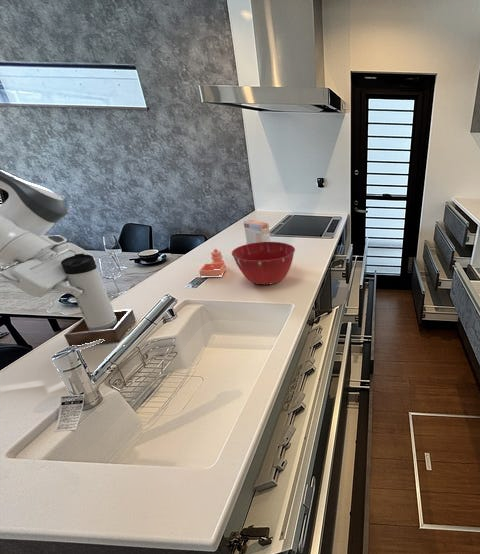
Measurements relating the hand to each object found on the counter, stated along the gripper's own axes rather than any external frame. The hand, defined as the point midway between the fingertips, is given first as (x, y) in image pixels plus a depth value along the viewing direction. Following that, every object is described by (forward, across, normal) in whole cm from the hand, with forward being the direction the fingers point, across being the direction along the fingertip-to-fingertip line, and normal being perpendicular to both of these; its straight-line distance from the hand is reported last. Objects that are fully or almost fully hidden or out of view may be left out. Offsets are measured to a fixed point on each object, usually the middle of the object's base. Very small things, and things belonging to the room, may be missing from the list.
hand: (90, 287), depth 80 cm
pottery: (+26, +72, +12) cm, 78 cm away
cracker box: (+40, +90, -2) cm, 99 cm away
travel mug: (+8, 0, +9) cm, 12 cm away
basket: (+9, +20, +28) cm, 36 cm away
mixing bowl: (+45, +58, -7) cm, 74 cm away
